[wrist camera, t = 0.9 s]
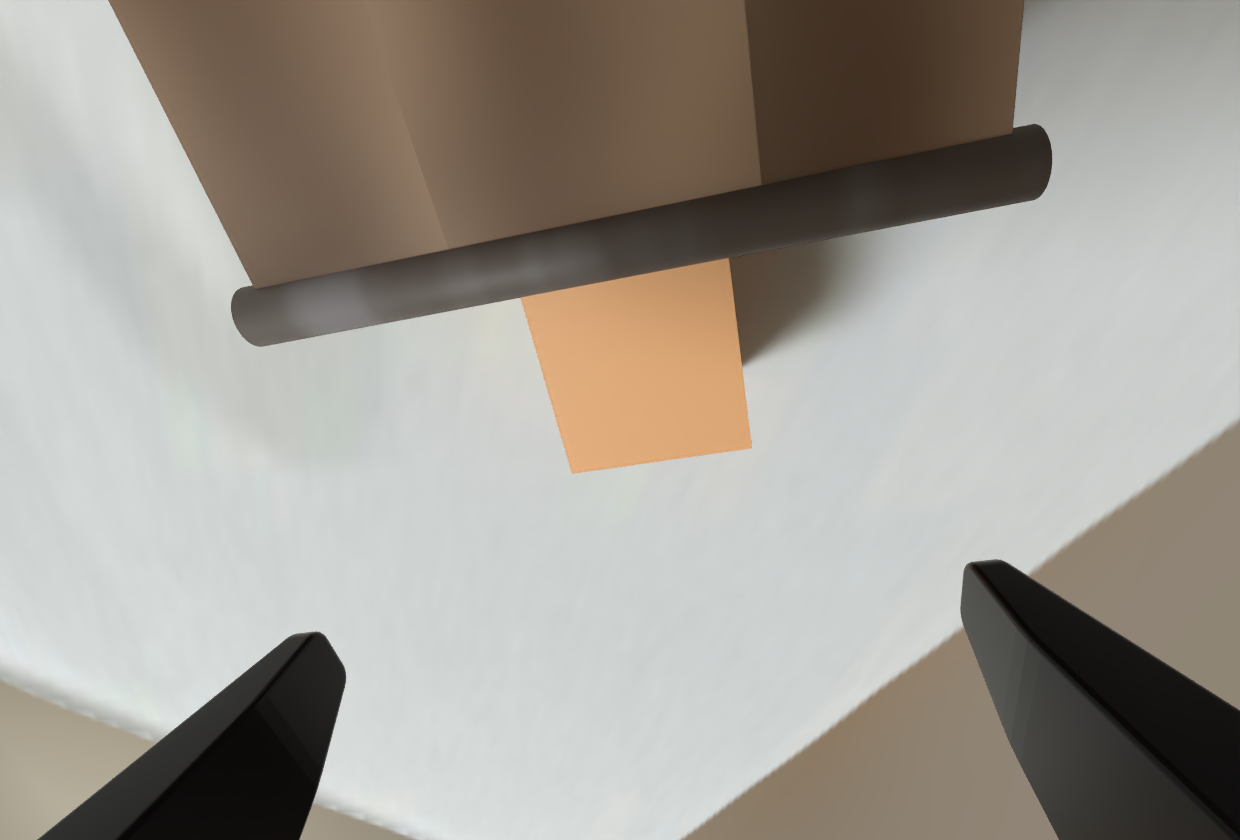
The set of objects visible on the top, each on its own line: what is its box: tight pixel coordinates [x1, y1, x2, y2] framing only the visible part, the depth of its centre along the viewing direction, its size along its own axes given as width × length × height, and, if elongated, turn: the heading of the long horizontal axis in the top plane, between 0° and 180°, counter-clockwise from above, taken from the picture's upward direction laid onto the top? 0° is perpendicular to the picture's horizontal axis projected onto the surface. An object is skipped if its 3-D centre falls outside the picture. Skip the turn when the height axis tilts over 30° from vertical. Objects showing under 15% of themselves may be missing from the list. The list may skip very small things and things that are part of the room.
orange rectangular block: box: [521, 258, 752, 474], centre depth 15 cm, size 4×10×4 cm, turn 12°
